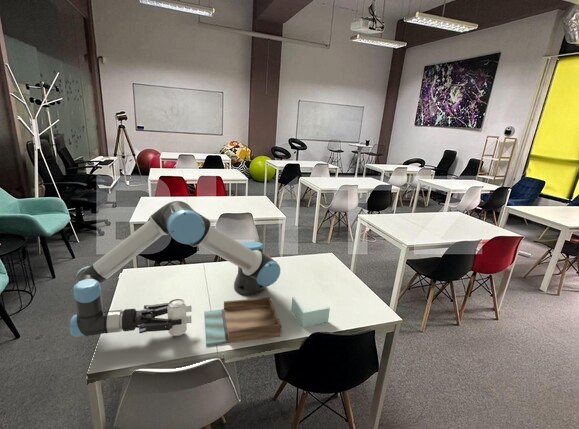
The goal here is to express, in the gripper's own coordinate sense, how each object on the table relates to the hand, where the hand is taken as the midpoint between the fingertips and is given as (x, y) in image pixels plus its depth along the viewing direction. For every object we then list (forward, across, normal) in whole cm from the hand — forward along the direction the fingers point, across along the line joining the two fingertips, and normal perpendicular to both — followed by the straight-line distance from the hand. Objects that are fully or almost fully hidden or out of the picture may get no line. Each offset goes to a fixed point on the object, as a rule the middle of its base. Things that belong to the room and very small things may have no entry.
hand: (191, 313), depth 119 cm
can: (-5, 0, -7) cm, 9 cm away
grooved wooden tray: (+19, -2, -9) cm, 21 cm away
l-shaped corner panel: (+48, -2, -10) cm, 49 cm away
